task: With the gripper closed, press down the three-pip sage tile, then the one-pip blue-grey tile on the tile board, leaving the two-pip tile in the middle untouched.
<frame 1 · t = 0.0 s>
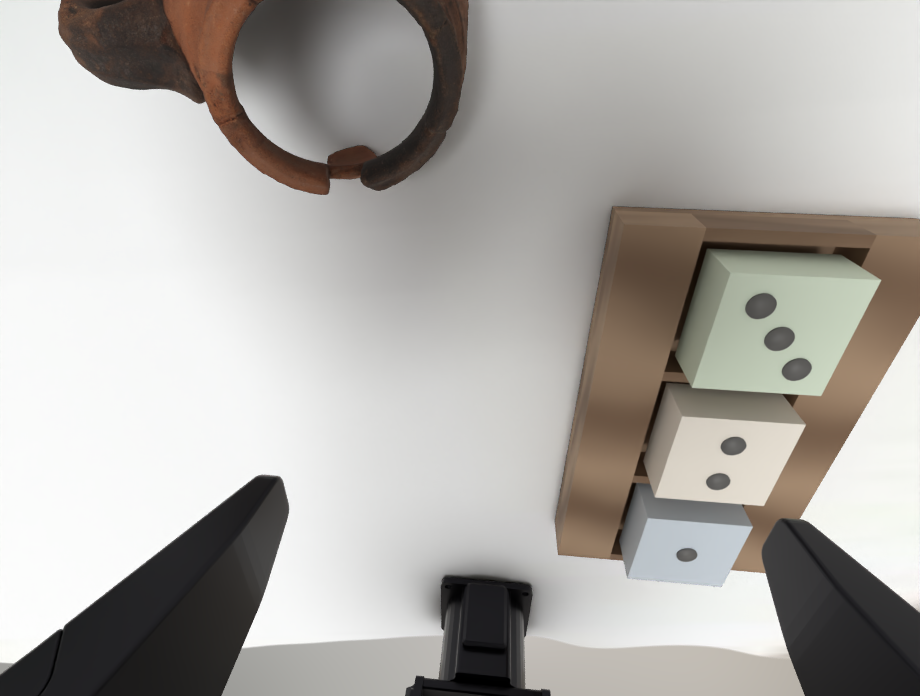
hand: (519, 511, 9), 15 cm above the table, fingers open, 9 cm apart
tile one: (679, 535, 26), point 3 cm above the table, slide at 0.0 cm
tile three: (765, 323, 19), point 3 cm above the table, slide at 0.0 cm
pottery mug: (313, 26, 18), on the table
tile board: (694, 404, 25), on the table
tile two: (715, 445, 22), point 3 cm above the table, slide at 0.0 cm
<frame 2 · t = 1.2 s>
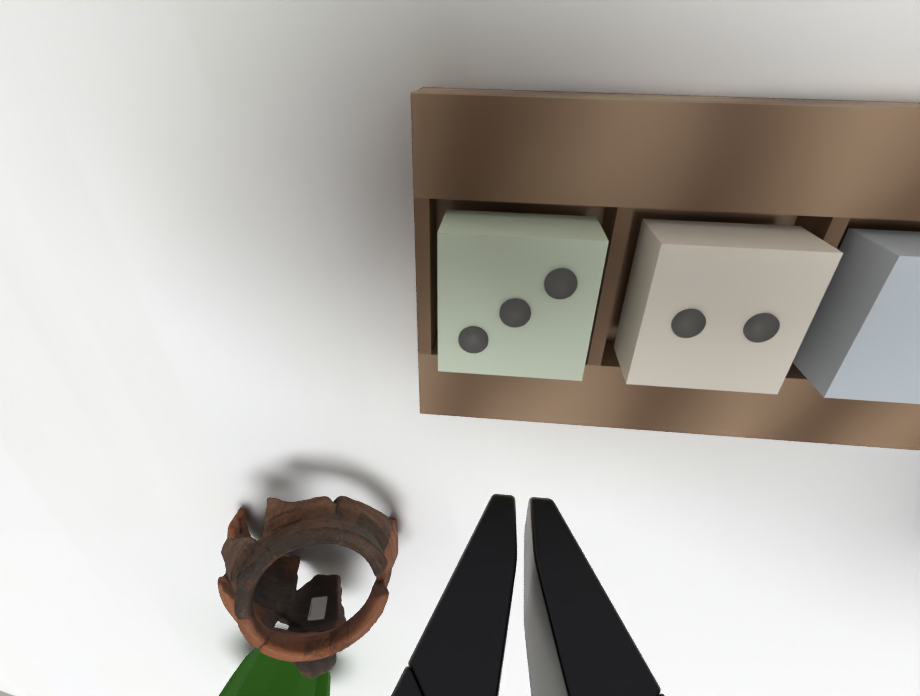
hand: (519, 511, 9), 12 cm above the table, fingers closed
tile one: (917, 320, 16), point 3 cm above the table, slide at 0.0 cm
bell pepper: (293, 649, 38), on the table
tile three: (514, 296, 16), point 3 cm above the table, slide at 0.0 cm
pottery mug: (325, 527, 29), on the table
tile board: (683, 271, 19), on the table
tile two: (711, 308, 16), point 3 cm above the table, slide at 0.0 cm
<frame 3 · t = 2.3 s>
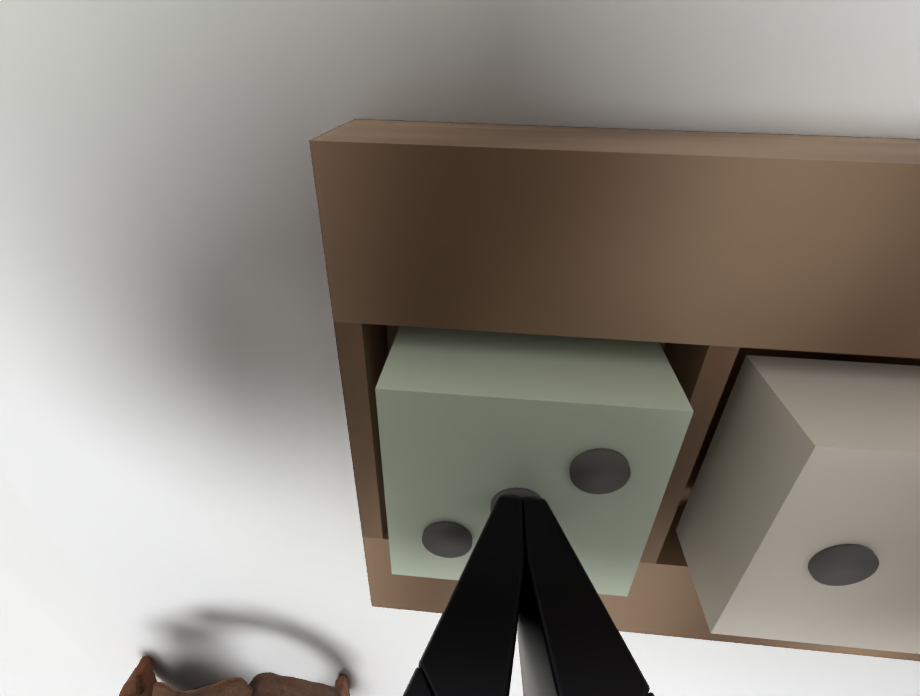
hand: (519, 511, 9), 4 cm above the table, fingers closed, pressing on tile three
tile three: (516, 461, 10), point 2 cm above the table, slide at -0.6 cm, touching gripper
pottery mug: (258, 676, 22), on the table
tile board: (787, 408, 12), on the table
tile two: (867, 512, 9), point 3 cm above the table, slide at 0.0 cm
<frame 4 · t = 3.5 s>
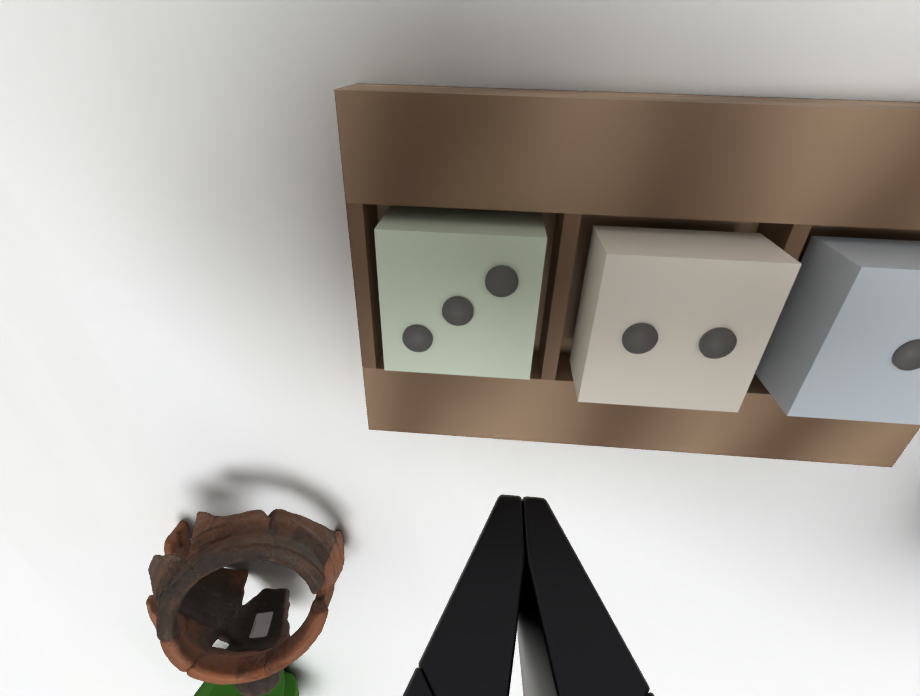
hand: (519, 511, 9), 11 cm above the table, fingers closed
tile one: (885, 333, 15), point 3 cm above the table, slide at 0.0 cm
bell pepper: (261, 664, 37), on the table
tile three: (460, 294, 16), point 2 cm above the table, slide at -1.0 cm
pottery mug: (271, 539, 28), on the table
tile board: (643, 280, 18), on the table
tile two: (666, 320, 15), point 3 cm above the table, slide at 0.0 cm
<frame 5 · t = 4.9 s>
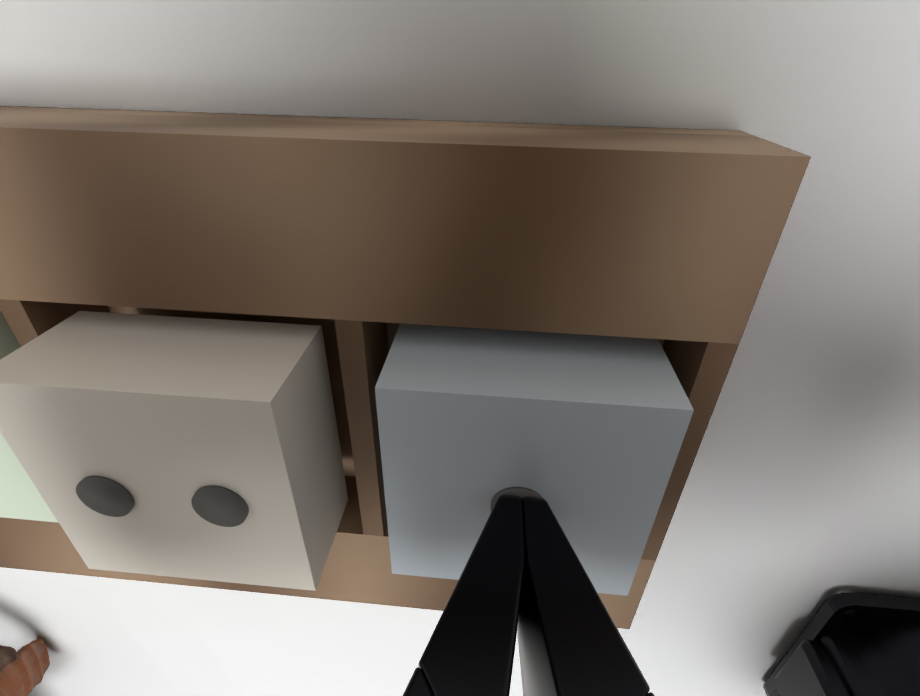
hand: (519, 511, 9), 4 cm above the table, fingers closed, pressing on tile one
tile one: (517, 460, 10), point 3 cm above the table, slide at -0.6 cm, touching gripper
tile board: (262, 370, 12), on the table
tile two: (198, 454, 10), point 3 cm above the table, slide at 0.0 cm
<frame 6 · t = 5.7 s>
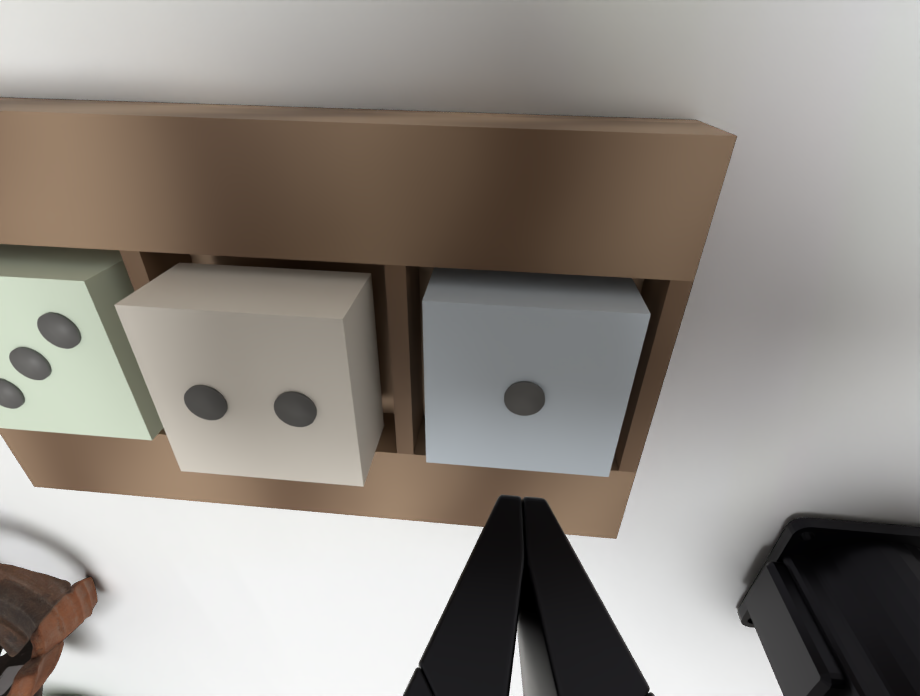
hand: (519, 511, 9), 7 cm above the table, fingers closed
tile one: (523, 371, 13), point 2 cm above the table, slide at -1.0 cm
tile three: (66, 340, 14), point 2 cm above the table, slide at -1.0 cm
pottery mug: (31, 584, 26), on the table
tile board: (312, 320, 15), on the table
tile two: (271, 377, 12), point 3 cm above the table, slide at 0.0 cm
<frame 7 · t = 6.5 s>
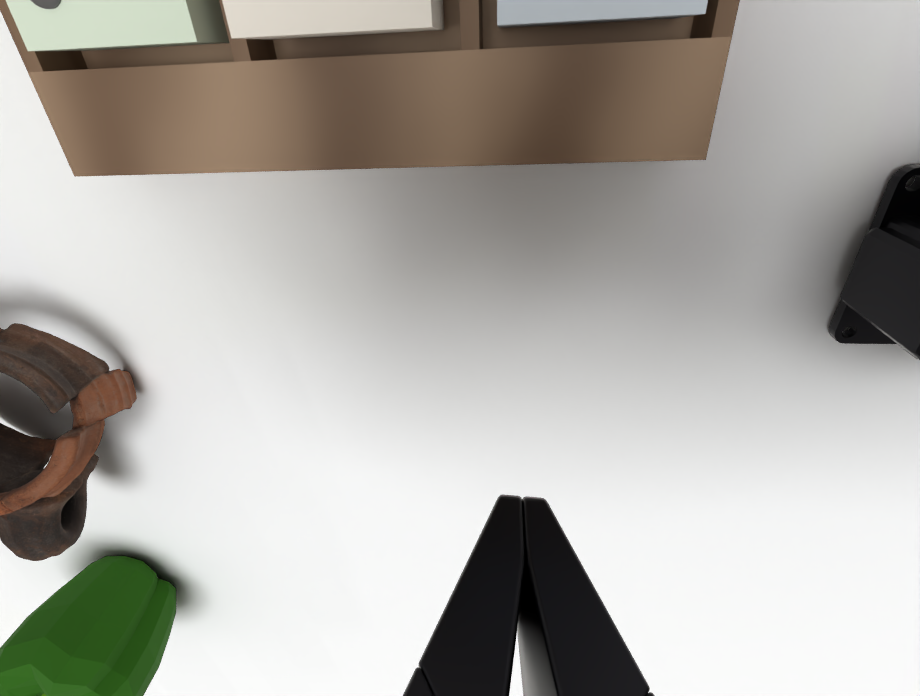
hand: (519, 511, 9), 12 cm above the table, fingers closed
bell pepper: (139, 574, 34), on the table
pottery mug: (70, 396, 25), on the table
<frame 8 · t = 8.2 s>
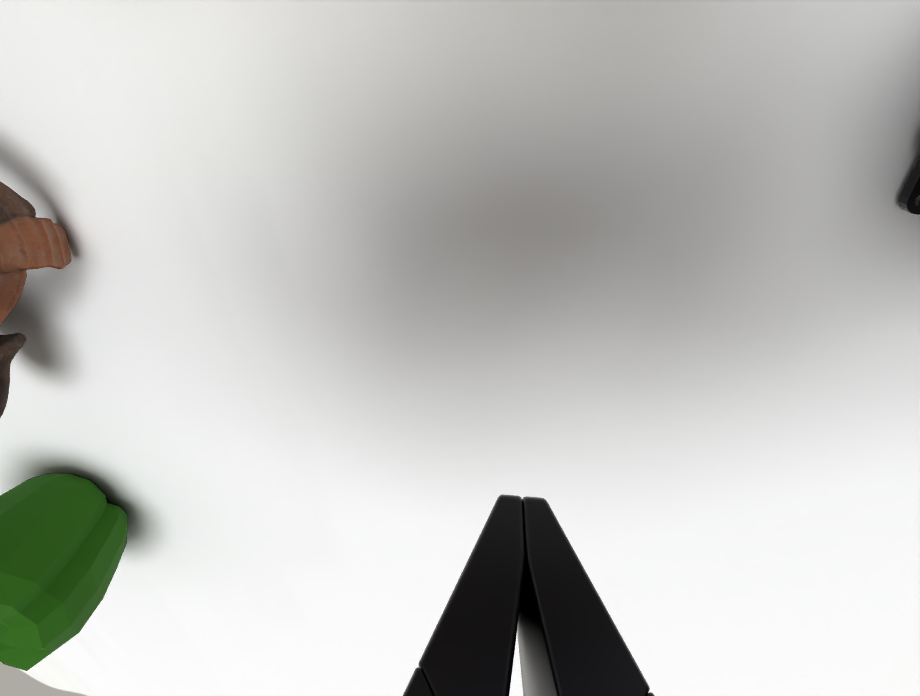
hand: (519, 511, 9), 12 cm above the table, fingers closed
bell pepper: (86, 498, 30), on the table
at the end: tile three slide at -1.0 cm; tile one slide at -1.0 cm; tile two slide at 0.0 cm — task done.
